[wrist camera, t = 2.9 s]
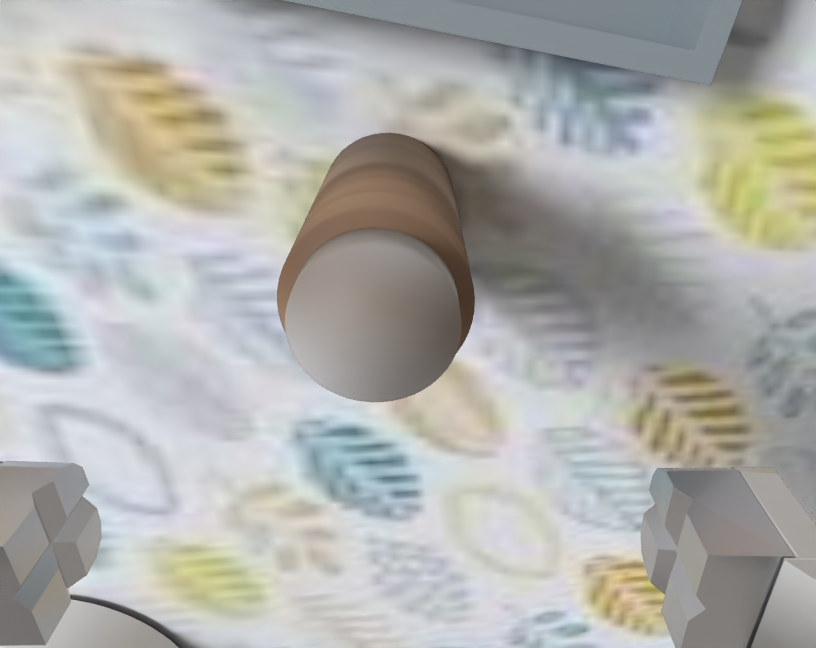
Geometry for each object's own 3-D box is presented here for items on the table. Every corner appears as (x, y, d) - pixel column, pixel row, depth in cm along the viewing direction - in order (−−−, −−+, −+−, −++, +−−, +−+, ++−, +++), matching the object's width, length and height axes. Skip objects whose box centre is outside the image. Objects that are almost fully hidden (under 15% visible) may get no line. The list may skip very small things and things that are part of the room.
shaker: (439, 269, 25) (454, 428, 16) (316, 248, 24) (259, 399, 15) (466, 146, 22) (502, 248, 13) (331, 121, 22) (276, 209, 13)
